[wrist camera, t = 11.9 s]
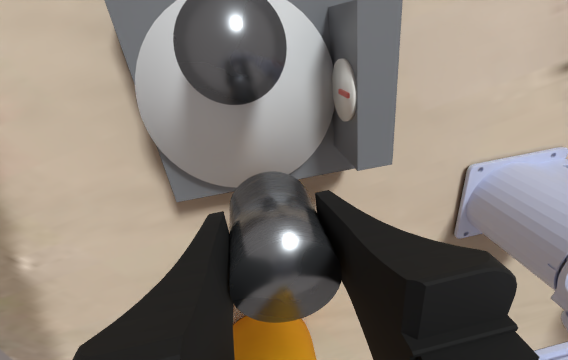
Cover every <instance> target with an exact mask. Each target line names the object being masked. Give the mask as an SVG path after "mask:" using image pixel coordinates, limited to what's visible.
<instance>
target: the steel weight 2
mask: <svg viewBox="0 0 568 360" xmlns="http://www.w3.org/2000/svg"><path fill="white" fill-rule="evenodd" d="M341 280H342V267H341V264H340V261H339V259H338V257H337V255H336V253H335V251H334V249H333V247H332V244H331V242H330V240H329V238H328V236H327V234H326V232H325V230H324V227H323V225H322V223H321V221H320V219H319V217H318V215H317V213H316V210H315V208H314V206H313V204H312V202H311V200H310V198H309V195H308V193H307V191H306V189H305V188H304V186H303V185H302V183H301V182H300V181H298V180H297V179H296V178H294V177H293V176H291V175H289V174H286V173H282V172H275V171H272V172H263V173H259V174H256V175H253V176H251V177H249V178H248V179H246V180H245V181H243V182H242V183H241V184H240V185H239V186H238V187H237V189H236V190H235V192H234V193H233V195H232V198H231V201H230V296H231V299H232V301H233V303H234V305H235V306H236V308H237V309H238V310H239V311H241V312H242V313H243V314H244V315H246V316H248V317H250V318H252V319H255V320H258V321H263V322H271V323H281V322H289V321H294V320H298V319H301V318H304V317H306V316H308V315H311V314H313V313H314V312H316V311H318V310H319V309H321V308H322V307H323V306H325V305H326V304H327V303H328V302H329V301H330V300H331V299H332V298H333V296H334V295H335V294H336V292H337V290H338V289H339V286H340V284H341Z"/></svg>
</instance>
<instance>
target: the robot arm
mask: <svg viewBox="0 0 568 360" xmlns="http://www.w3.org/2000/svg"><path fill="white" fill-rule="evenodd" d="M567 154H568V149H567V148H565V147H559V148H553V149H548V150H543V151H538V152H533V153H528V154H523V155H518V156H513V157H508V158H502V159H497V160H492V161H487V162H482V163H477V164H473V165H471V166H469V167H468V169H467V173H466V178H465V183H464V188H463V193H462V197H461V202H460V207H459V212H458V217H457V222H456V227H455V232H454V236H455V237H456V238H458V239H460V238H465V237H469V236H474V235H478V234H484V235H485V236H487V237H488V238H489V239H490V240H492V241H493V242H494V243H496V244H497V245H498V246H499V247H501V248H502V249H503V250H504V251H506V252H507V253H508V254H509V255H511V256H512V257H513V258H514V259H516V260H517V261H518V262H519V263H521V264H522V265H523V266H525V267H526V268H527V269H528V270H530V271H531V272H532V273H533V274H535V275H536V276H537V277H538V278H540V279H541V280H542V281H543V282H545V283H546V284H547V285H549V286H550V287H551V288H552V289H554V290H555V292H554V294H553V295H552V296H551V299H552V300H553V301H554V302H556V303H557V304H558V305H559V306H560V307H562V308H563V309H564V311H563V312H562V314H561V320H562V323H563V325H564V327H565V328H566V330H567V332H568V159H566V157H567ZM478 169H479V170H478ZM315 196H316V207H317V215H318V217H319V219H320V221H321V223H322V225H323V227H324V230H325V232H326V234H327V236H328V238H329V240H330V242H331V244H332V247H333V249H334V251H335V253H336V255H337V257H338V259H339V261H340V264H341V267H342V282H343V284H344V286H345V288H346V290H347V292H348V294H349V297H350V299H351V301H352V304H353V306H354V309H355V311H356V314H357V317H358V319H359V322H360V324H361V327H362V330H363V332H364V335H365V338H366V340H367V343H368V346H369V349H370V351H371V354H372V357H373V360H568V342H564V343H561V344H557V345H553V346H550V347H546V348H542V349H539V350H535V351H533V350H532V349H531V348H530V347H529V346H528V345H527V343H526V342H525V341H524V340H523V339H522V338H521V337H520V336H519V335H518V334H517V333H516V332H515V331H517V329H518V327H517V324H516V323H515V322H514V321H513V320H512V319H511V318H510V317H509V316H508V312H509V310H510V307H511V304H512V302H513V299H514V296H515V293H516V288H517V282H516V277H515V276H514V275H513V274H512V272H511V271H510V270H508V269H507V268H506V267H505V266H504V265H502V264H501V263H500V262H499V261H498V260H497V259H495V258H494V257H493V256H492V255H491V254H489V253H488V252H487V251H482V250H476V249H471V248H465V247H459V246H454V245H450V244H446V243H442V242H438V241H434V240H430V239H427V238H423V237H420V236H417V235H414V234H411V233H408V232H405V231H403V230H400V229H397V228H395V227H393V226H390V225H388V224H386V223H383V222H381V221H379V220H377V219H375V218H373V217H371V216H370V215H368V214H366V213H364V212H362V211H361V210H359V209H357V208H355V207H354V206H352V205H351V204H349V203H347V202H346V201H344V200H343V199H341V198H340V197H338V196H337V195H335V194H334V193H332V192H331V191H329V190H327V191H322V192H317V193H315ZM73 360H235V356H234V339H233V301H232V299H231V296H230V234H229V230H228V227H227V223H226V220H225V216H224V212H218V213H213V214H209V215H208V216H207V218H206V220H205V221H204V223H203V225H202V226H201V228H200V230H199V231H198V233H197V234H196V236H195V238H194V239H193V241H192V242H191V244H190V245H189V247H188V248H187V249H186V251H185V252H184V254H183V255H182V256H181V258H180V259H179V260H178V262H177V263H176V264H175V265H174V267H173V268H172V269H171V270H170V271H169V272H168V273H167V274H166V276H165V277H164V278H163V279H162V280H161V281H160V282H159V283H158V284H157V285H156V286H155V287H154V288H153V289H152V290H151V291H150V292H149V293H148V294H146V295H145V296H144V297H143V298H142V299H141V300H140V301H139V302H138V303H137V304H135V305H134V306H133V307H132V308H131V309H130V310H128V311H127V312H126V313H125V314H123V315H122V316H121V317H120V318H118V319H117V320H116V321H115V322H113V323H112V324H111V325H109V326H108V327H107V328H105V329H104V330H102V331H101V332H100V333H98V334H97V335H95V336H94V337H93V338H91V339H90V340H88V341H87V342H85V343H84V344H82V345H81V346H80V347H79V348H78V350H77V352H76V354H75V356H74V358H73Z"/></svg>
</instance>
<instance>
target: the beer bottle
mask: <svg viewBox="0 0 568 360" xmlns="http://www.w3.org/2000/svg"><path fill="white" fill-rule="evenodd" d="M233 339H234V356H235V360H316V356H315V352H314V347H313V343H312V339H311V336H310V333H309V331H308V329H307V326H306V325H305V323H304V322H303V321H302V319H298V320H294V321H289V322H281V323H271V322H263V321H258V320H255V319H252V318H250V317H248V316H244V317H243V318H241V319H240V320H238V321H237V322H236V323H235V324H234V325H233Z"/></svg>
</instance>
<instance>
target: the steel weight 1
mask: <svg viewBox="0 0 568 360" xmlns="http://www.w3.org/2000/svg"><path fill="white" fill-rule="evenodd" d="M173 44H174V52H175V56H176V60H177V62H178V65H179V67H180V69H181V71H182V73H183V75H184V76H185V78H186V79H187V81H188V82H189V83H190V84H191V86H192V87H193V88H195V89H196V90H197V91H198V92H199V93H200V94H202V95H203V96H205V97H207V98H208V99H210V100H213V101H215V102H218V103H221V104H226V105H243V104H247V103H251V102H253V101H256V100H258V99H259V98H261V97H263V96H264V95H265V94H267V93H268V92H269V91H270V90H271V89H272V88H273V87H274V85H275V84H276V83H277V81H278V79H279V78H280V76H281V73H282V71H283V68H284V65H285V61H286V53H287V44H286V36H285V31H284V28H283V25H282V22H281V20H280V18H279V16H278V14H277V12H276V11H275V9H274V8H273V7H272V5H271V4H270V3H269V2H268V1H267V0H187V1H186V2H185V3H184V5H183V6H182V8H181V9H180V11H179V14H178V16H177V19H176V22H175V26H174V33H173Z"/></svg>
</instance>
